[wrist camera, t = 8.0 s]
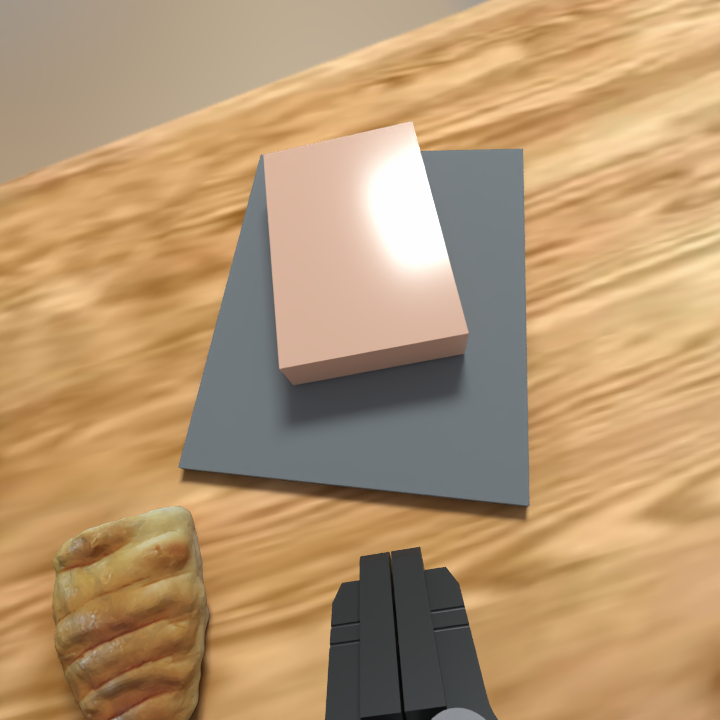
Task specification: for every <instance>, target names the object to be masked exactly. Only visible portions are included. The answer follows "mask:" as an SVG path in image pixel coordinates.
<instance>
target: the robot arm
mask: <svg viewBox="0 0 720 720" xmlns="http://www.w3.org/2000/svg"><path fill="white" fill-rule="evenodd" d="M391 559H392V560H391ZM325 720H498V719H497V718H496V716H495V714H494V713H493V711H492V709H491V707H490V704H489V701H488V698H487V694H486V690H485V686H484V682H483V678H482V674H481V670H480V666H479V662H478V658H477V654H476V650H475V646H474V642H473V638H472V634H471V630H470V627H469V622H468V618H467V614H466V610H465V606H464V602H463V598H462V594H461V590H460V586H459V583H458V582H457V581H456V579H455V578H454V577H453V576H452V574H451V573H450V572H449V570H448V569H447V568H446V567H442V568H435V569H429V570H424V564H423V559H422V554H421V549H420V547H416V548H410V549H404V550H397V551H391V556H390V553H389V552H386V553H379V554H373V555H367V556H361V557H360V580H359V581H352V582H346V583H342V584H341V586H340V588H339V590H338V592H337V595H336V597H335V599H334V601H333V603H332V618H331V634H330V650H329V667H328V683H327V699H326V715H325Z"/></svg>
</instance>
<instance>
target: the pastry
mask: <svg viewBox="0 0 720 720" xmlns="http://www.w3.org/2000/svg"><path fill="white" fill-rule="evenodd" d="M53 567H54V568H55V571H56V579H55V586H54V592H53V605H52V608H53V618H54V622H55V625H56V633H55V639H54V640H55V648H56V650H57V653H58V658H59V659H60V662H61V664H62V668H63V671H64V675H65V678H66V680H67V682H68V683H69V684H70V685H71V686H72V691H73V694H74V697H75V701H76V703H78V704H79V705H80V709H81V711H82V712H83V714H84V716H85V718H86V720H189V718H190V716H191V715H192V713H193V711H194V709H195V708H196V706H197V703H198V697H199V692H198V690H199V682H200V677H201V668H200V667H201V661H202V658H203V655H204V649H205V647H204V639H205V630H206V626H207V623H208V619H209V609H208V607H207V604H206V592H205V587H204V583H203V574H202V558H201V554H200V548H199V544H198V537H197V534H196V532H195V528H194V521H193V518H192V515H191V513H190V511H189V510H188V509H186V508H184V507H181V506H175V507H164V508H161V509H156V510H152V511H150V512H148V513H145V514H141V515H137V516H132V517H126V518H121V519H119V520H117V521H113V522H109V523H105V524H102V525H100V526H97V527H93V528H90V529H87V530H85V531H83V532H81V533H80V534H78V535H77V536H76V537H75V538H72V539H70V540H68V541H67V542H66V543H64V544H63V545H62V546H61V548H60V549H59V551H58V552H57V555H56V557H55V559H54V561H53Z"/></svg>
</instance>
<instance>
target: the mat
mask: <svg viewBox="0 0 720 720" xmlns="http://www.w3.org/2000/svg"><path fill="white" fill-rule="evenodd" d="M420 153H421V156H422V160H423V164H424V168H425V171H426V175H427V179H428V183H429V186H430V190H431V194H432V198H433V201H434V205H435V209H436V213H437V216H438V220H439V224H440V227H441V231H442V235H443V239H444V242H445V246H446V250H447V254H448V257H449V261H450V265H451V269H452V272H453V276H454V280H455V284H456V287H457V291H458V295H459V299H460V302H461V306H462V310H463V314H464V317H465V321H466V325H467V329H468V332H469V335H468V340H467V345H466V351H465V354H461V355H455V356H450V357H445V358H439V359H434V360H428V361H423V362H417V363H412V364H407V365H401V366H396V367H390V368H385V369H380V370H374V371H369V372H363V373H358V374H352V375H347V376H342V377H336V378H331V379H325V380H320V381H315V382H309V383H304V384H298V385H292V383H291V382H290V381H289V380H288V379H287V377H286V376H285V375H284V374H283V373H282V371H281V370H280V369H279V358H278V345H277V332H276V318H275V305H274V291H273V278H272V265H271V251H270V238H269V224H268V211H267V198H266V184H265V171H264V157H263V155H261V156H260V160H259V164H258V167H257V171H256V175H255V179H254V182H253V186H252V190H251V194H250V198H249V201H248V205H247V209H246V213H245V217H244V220H243V224H242V228H241V232H240V236H239V239H238V243H237V247H236V251H235V255H234V258H233V262H232V266H231V270H230V273H229V277H228V281H227V285H226V289H225V292H224V296H223V300H222V304H221V308H220V311H219V315H218V319H217V323H216V327H215V330H214V334H213V338H212V342H211V345H210V349H209V353H208V357H207V361H206V364H205V368H204V372H203V376H202V380H201V383H200V387H199V391H198V395H197V399H196V402H195V406H194V410H193V414H192V418H191V421H190V425H189V429H188V433H187V436H186V440H185V444H184V448H183V452H182V455H181V459H180V463H179V467H178V468H181V469H185V470H194V471H204V472H213V473H222V474H231V475H240V476H249V477H258V478H268V479H277V480H286V481H295V482H304V483H313V484H323V485H332V486H341V487H350V488H359V489H368V490H378V491H387V492H396V493H405V494H414V495H423V496H433V497H442V498H451V499H460V500H469V501H478V502H488V503H497V504H506V505H515V506H524V507H527V506H529V455H528V399H527V344H526V289H525V234H524V179H523V149H491V150H447V151H420Z"/></svg>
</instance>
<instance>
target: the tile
mask: <svg viewBox="0 0 720 720" xmlns="http://www.w3.org/2000/svg"><path fill="white" fill-rule="evenodd" d="M263 157H264V171H265V184H266V198H267V211H268V224H269V238H270V251H271V265H272V278H273V291H274V305H275V318H276V332H277V345H278V358H279V369H280V370H281V371H282V373H283V374H284V375H285V376H286V377H287V379H288V380H289V381H290V382H291V383H292V385H298V384H304V383H309V382H315V381H320V380H325V379H331V378H336V377H342V376H347V375H352V374H358V373H363V372H369V371H374V370H380V369H385V368H390V367H396V366H401V365H407V364H412V363H417V362H423V361H428V360H434V359H439V358H445V357H450V356H455V355H461V354H465V351H466V345H467V340H468V335H469V332H468V329H467V325H466V321H465V317H464V314H463V310H462V306H461V302H460V299H459V295H458V291H457V287H456V284H455V280H454V276H453V272H452V269H451V265H450V261H449V257H448V254H447V250H446V246H445V242H444V239H443V235H442V231H441V227H440V224H439V220H438V216H437V213H436V209H435V205H434V201H433V198H432V194H431V190H430V186H429V183H428V179H427V175H426V171H425V168H424V164H423V160H422V156H421V153H420V149H419V145H418V141H417V138H416V134H415V130H414V126H413V123H412V121H411V122H407V123H403V124H398V125H394V126H389V127H385V128H380V129H376V130H371V131H367V132H362V133H358V134H354V135H349V136H345V137H340V138H336V139H331V140H327V141H322V142H318V143H313V144H309V145H304V146H300V147H296V148H291V149H287V150H282V151H278V152H273V153H269V154H264V155H263Z"/></svg>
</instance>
